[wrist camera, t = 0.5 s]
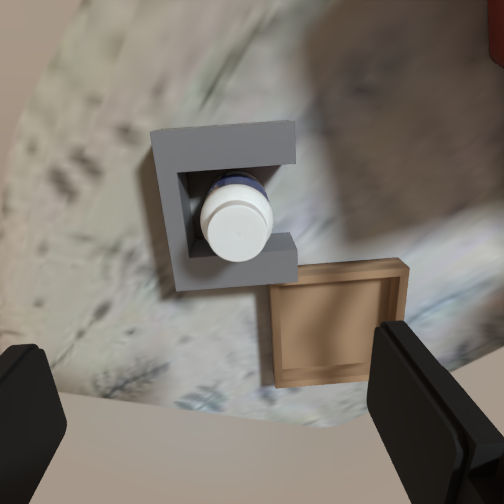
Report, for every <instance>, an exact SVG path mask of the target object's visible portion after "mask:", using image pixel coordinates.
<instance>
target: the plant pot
mask: <svg viewBox="0 0 504 504" xmlns="http://www.w3.org/2000/svg"><path fill="white" fill-rule="evenodd" d="M488 25H489V52H490V57H491V59H492V60H493V61H494V62H495V63H496V64H498V65H499V66H500V67H502V68H504V0H488Z"/></svg>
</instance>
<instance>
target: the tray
mask: <svg viewBox="0 0 504 504" xmlns="http://www.w3.org/2000/svg"><path fill="white" fill-rule="evenodd" d="M409 270H410V268H409V267H408V266H407V265H406V264H405V263H404V262H402V261H401V260H400V259H399V258H385V259H373V260H360V261H347V262H334V263H321V264H308V265H298V282H291V283H278V284H269V299H270V318H271V337H272V356H273V373H274V380H275V387H276V388H288V387H300V386H312V385H324V384H336V383H348V382H360V381H369V373H370V364H371V355H372V346H373V337H374V330H375V328H376V327H380V324H381V322H383V321H398V320H402V321H404V313H405V304H406V296H407V287H408V278H409Z"/></svg>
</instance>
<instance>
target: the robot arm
mask: <svg viewBox="0 0 504 504" xmlns="http://www.w3.org/2000/svg"><path fill="white" fill-rule="evenodd" d="M367 407H368V410H369V413H370V415H371V417H372V419H373V422H374V424H375V426H376V428H377V430H378V432H379V434H380V437H381V439H382V441H383V443H384V445H385V447H386V450H387V452H388V454H389V456H390V458H391V460H392V463H393V465H394V467H395V469H396V471H397V473H398V476H399V478H400V480H401V482H402V484H403V486H404V488H405V491H406V493H407V494H408V497H409V499H410V501H411V504H504V437H503V436H502V434H501V433H500V432H499V431H498V430H497V428H496V427H495V426H494V425H493V424H492V423H491V421H490V420H489V419H488V418H487V417H486V415H485V414H484V413H483V412H482V411H481V410H480V408H479V407H478V406H477V405H476V403H474V401H473V400H472V399H471V398H470V396H469V395H468V394H467V393H466V392H465V390H464V389H463V388H462V387H461V386H460V385H459V383H458V382H457V381H456V380H455V379H454V377H453V376H452V375H451V374H450V373H449V372H448V371H447V370H446V369H445V368H444V367H443V366H441V364H440V363H439V362H438V361H437V360H436V358H435V357H434V356H433V355H432V354H431V352H430V351H429V350H428V349H427V348H426V347H425V345H424V344H423V343H422V342H421V341H420V339H419V338H418V337H417V336H416V335H415V333H414V332H413V331H412V330H411V329H410V327H409V326H408V325H407V324H406V323H405V322H404V321H402V320H398V321H383V322H381V324H380V327H376V328H375V330H374V337H373V346H372V355H371V364H370V373H369V381H368V390H367ZM66 427H67V421H66V417H65V414H64V411H63V408H62V404H61V401H60V398H59V395H58V392H57V389H56V386H55V382H54V379H53V376H52V373H51V370H50V367H49V363H48V360H47V357H46V354H45V352H44V350H43V349H39V347H38V346H37V345H36V344H22V345H12V346H10V347H8V348H7V349H6V350H5V351H4V352H3V353H2V354H1V355H0V504H29V502H30V500H31V498H32V496H33V494H34V492H35V490H36V489H37V487H38V485H39V483H40V481H41V479H42V477H43V475H44V473H45V471H46V469H47V467H48V465H49V464H50V462H51V460H52V458H53V456H54V454H55V452H56V450H57V448H58V446H59V444H60V442H61V440H62V439H63V437H64V434H65V432H66Z"/></svg>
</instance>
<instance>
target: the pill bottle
mask: <svg viewBox="0 0 504 504" xmlns="http://www.w3.org/2000/svg"><path fill="white" fill-rule="evenodd" d="M273 221H274V220H273V212H272V208H271V205H270V203H269V200H268V198H267V195H266V192H265V189H264V187H263V186H262V184H261V183H260V182H259V181H258V179H256V178H255V177H254V176H252V175H251V174H248V173H246V172H242V171H232V172H228V173H225V174H223V175H221V176H220V177H218V178H217V179H216V180H215V181H214V182H213V184H212V185H211V187H210V189H209V191H208V194H207V196H206V199H205V202H204V205H203V208H202V211H201V217H200V223H201V229H202V232H203V235H204V237H205V239H206V240H207V242H208V243H209V244H210V246H211V248H212V250H213V251H214V252H215V253H216V254H217V255H218V256H220V257H221V258H223V259H225V260H228V261H232V262H243V261H247V260H250V259H252V258H254V257H255V256H257V255H258V254H259V253H260V252H261V251H262V249H263V248H264V246H265V244H266V242H267V240H268V239H269V237H270V235H271V232H272V229H273Z"/></svg>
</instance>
